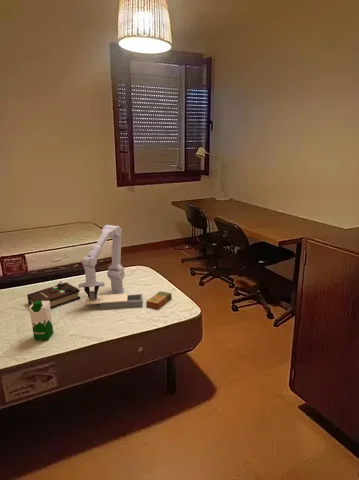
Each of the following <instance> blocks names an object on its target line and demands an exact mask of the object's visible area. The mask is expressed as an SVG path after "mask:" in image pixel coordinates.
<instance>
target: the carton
mask: <svg viewBox="0 0 359 480" xmlns="http://www.w3.org/2000/svg"><path fill="white" fill-rule="evenodd" d="M171 300H172V293H171V292H166V291H162V290H161V291H160V290H159V291H158V292H157V293H156V294H154V295H152V297H150V298H149V299H148V300H146V302H145V304H146V305H145V306H146V308H149V309H153V310H158V311H159V310H160V309H161V308H162V307H164V306H165V305H166V304H167V303H168V302H170V301H171Z"/></svg>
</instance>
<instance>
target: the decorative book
mask: <svg viewBox="0 0 359 480" xmlns="http://www.w3.org/2000/svg"><path fill="white" fill-rule="evenodd" d="M26 295H27V296H26V297H27V302H28V305H29V304H30V305H29V306H31V305H32V303H33V302H34V301H38V300H40V301H50V309H51V310H53V309H56V308H59V307H62V306H65V305H67V304H70V303H73V302H75V301H79V300H81V296H79V295H80V288H78V287H75V286H74V285H72V284H70V283H68V282H63V281H59V283H57V284H56V285H53V286H50V287H46V288H43V289H40V290H37V291H34V292H31V293H28V294H26ZM61 305H62V306H61ZM58 306H59V307H58Z"/></svg>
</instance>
